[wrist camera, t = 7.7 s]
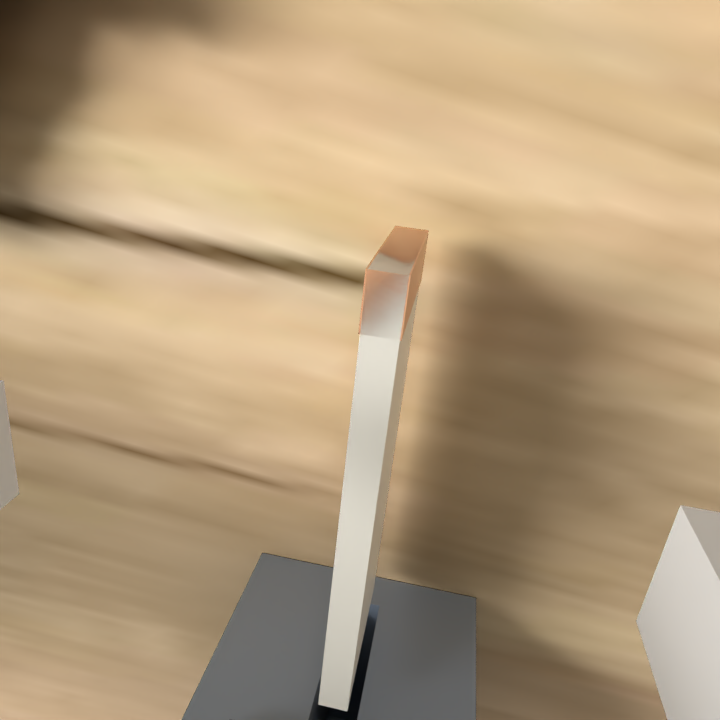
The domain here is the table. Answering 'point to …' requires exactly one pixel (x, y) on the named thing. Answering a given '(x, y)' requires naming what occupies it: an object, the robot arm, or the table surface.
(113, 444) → the table surface
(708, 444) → the table surface
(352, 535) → the slim white post
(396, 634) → the block
